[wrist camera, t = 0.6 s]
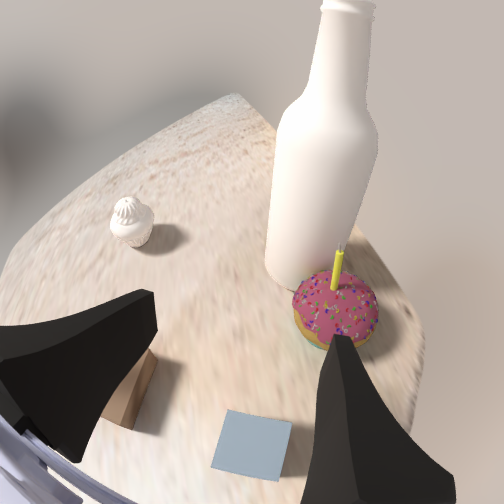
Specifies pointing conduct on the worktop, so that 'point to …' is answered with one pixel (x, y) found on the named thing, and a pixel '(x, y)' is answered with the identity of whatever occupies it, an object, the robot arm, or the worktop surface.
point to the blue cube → (252, 446)
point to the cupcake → (335, 306)
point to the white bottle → (323, 150)
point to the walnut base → (130, 393)
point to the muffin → (132, 221)
